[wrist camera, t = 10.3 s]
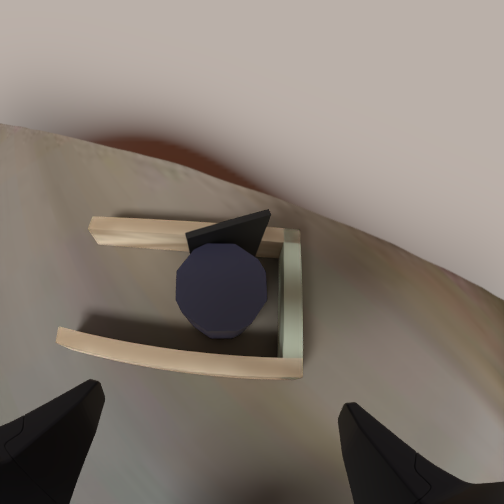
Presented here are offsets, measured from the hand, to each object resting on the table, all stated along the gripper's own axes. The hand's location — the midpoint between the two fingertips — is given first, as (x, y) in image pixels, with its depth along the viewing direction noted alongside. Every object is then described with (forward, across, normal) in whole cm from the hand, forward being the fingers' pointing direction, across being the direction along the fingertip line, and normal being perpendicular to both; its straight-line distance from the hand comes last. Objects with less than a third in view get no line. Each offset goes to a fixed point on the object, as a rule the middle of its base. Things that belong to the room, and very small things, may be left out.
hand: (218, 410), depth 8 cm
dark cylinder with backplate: (+16, 0, +4) cm, 16 cm away
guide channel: (+16, +5, +4) cm, 17 cm away
